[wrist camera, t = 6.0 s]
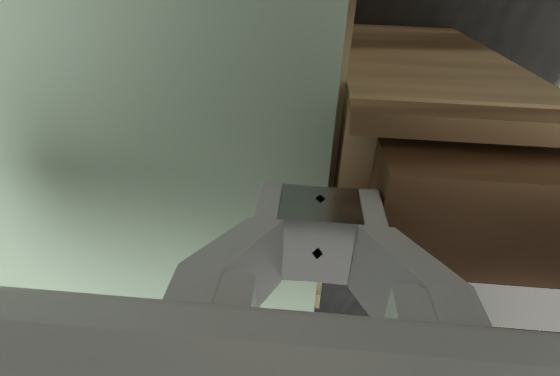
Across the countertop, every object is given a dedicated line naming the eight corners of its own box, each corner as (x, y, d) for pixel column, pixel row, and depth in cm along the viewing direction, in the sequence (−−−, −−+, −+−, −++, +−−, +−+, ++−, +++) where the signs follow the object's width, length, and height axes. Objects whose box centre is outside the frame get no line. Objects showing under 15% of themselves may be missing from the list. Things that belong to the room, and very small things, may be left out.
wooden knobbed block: (377, 136, 10) (401, 206, 7) (697, 155, 10) (848, 236, 7) (361, 227, 12) (375, 311, 9) (635, 246, 11) (737, 341, 8)
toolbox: (-127, -101, 18) (-724, -167, 8) (482, -83, 17) (759, -136, 6) (-13, 162, 25) (-238, 307, 15) (412, 189, 24) (486, 370, 14)
